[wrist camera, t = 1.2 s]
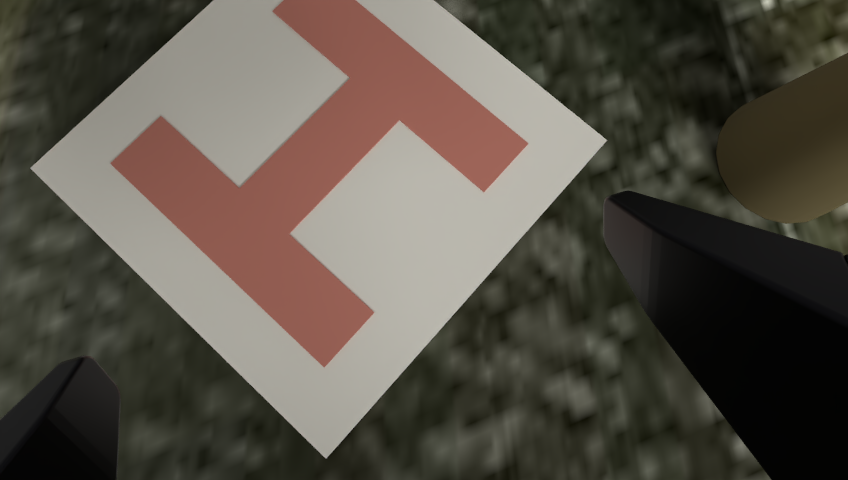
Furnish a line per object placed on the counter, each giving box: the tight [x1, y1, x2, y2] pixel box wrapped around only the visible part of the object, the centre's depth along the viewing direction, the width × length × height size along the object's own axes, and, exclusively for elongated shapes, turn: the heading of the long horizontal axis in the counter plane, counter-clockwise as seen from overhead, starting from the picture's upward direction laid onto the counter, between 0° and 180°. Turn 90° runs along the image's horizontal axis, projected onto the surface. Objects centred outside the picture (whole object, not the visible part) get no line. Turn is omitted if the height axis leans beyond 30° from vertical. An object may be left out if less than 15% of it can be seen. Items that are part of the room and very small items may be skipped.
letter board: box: [31, 0, 607, 458], centre depth 24 cm, size 18×18×1 cm
